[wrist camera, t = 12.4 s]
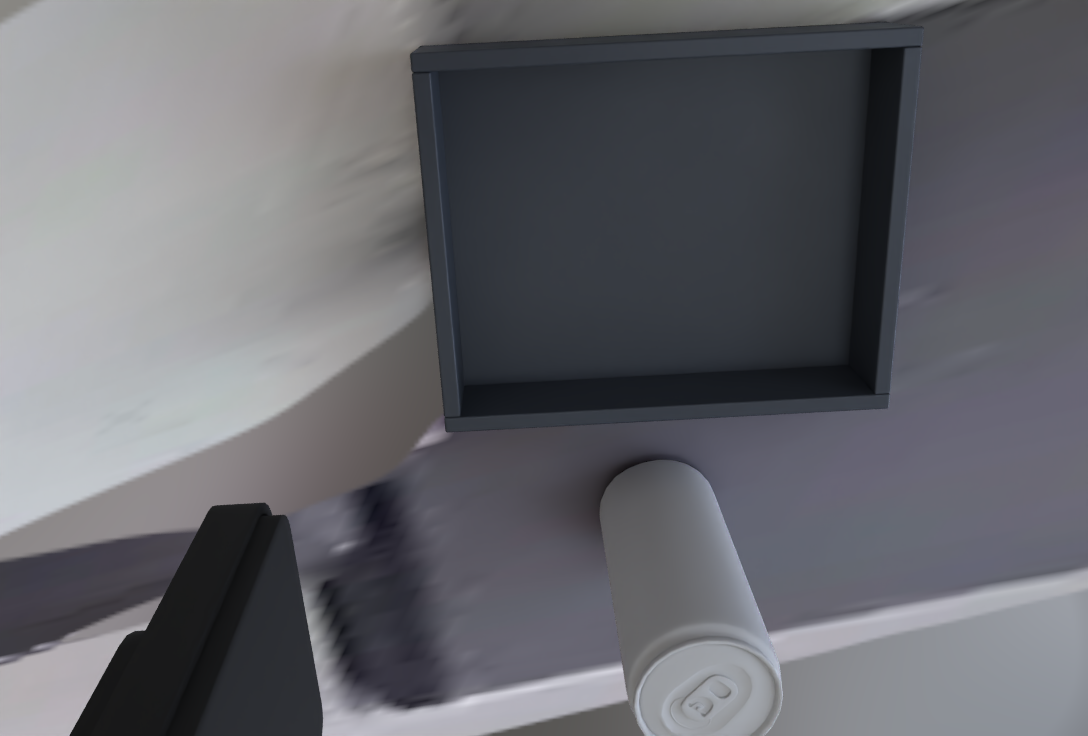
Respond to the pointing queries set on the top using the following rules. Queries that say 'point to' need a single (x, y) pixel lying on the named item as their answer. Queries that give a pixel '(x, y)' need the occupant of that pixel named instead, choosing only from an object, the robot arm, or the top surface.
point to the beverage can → (685, 608)
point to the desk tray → (666, 222)
